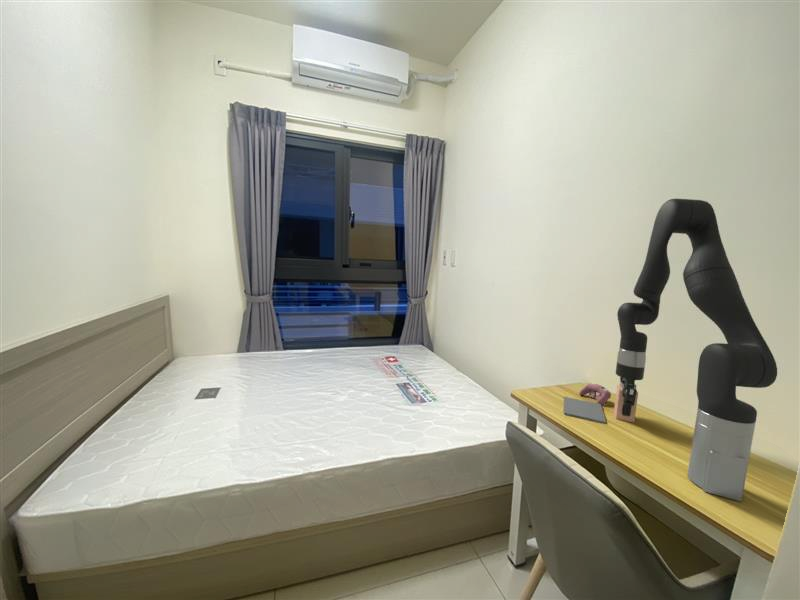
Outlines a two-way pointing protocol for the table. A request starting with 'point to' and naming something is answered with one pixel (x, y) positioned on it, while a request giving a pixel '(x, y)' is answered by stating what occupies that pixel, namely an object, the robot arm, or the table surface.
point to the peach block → (619, 406)
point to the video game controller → (594, 388)
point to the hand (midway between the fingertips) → (624, 411)
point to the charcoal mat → (584, 410)
